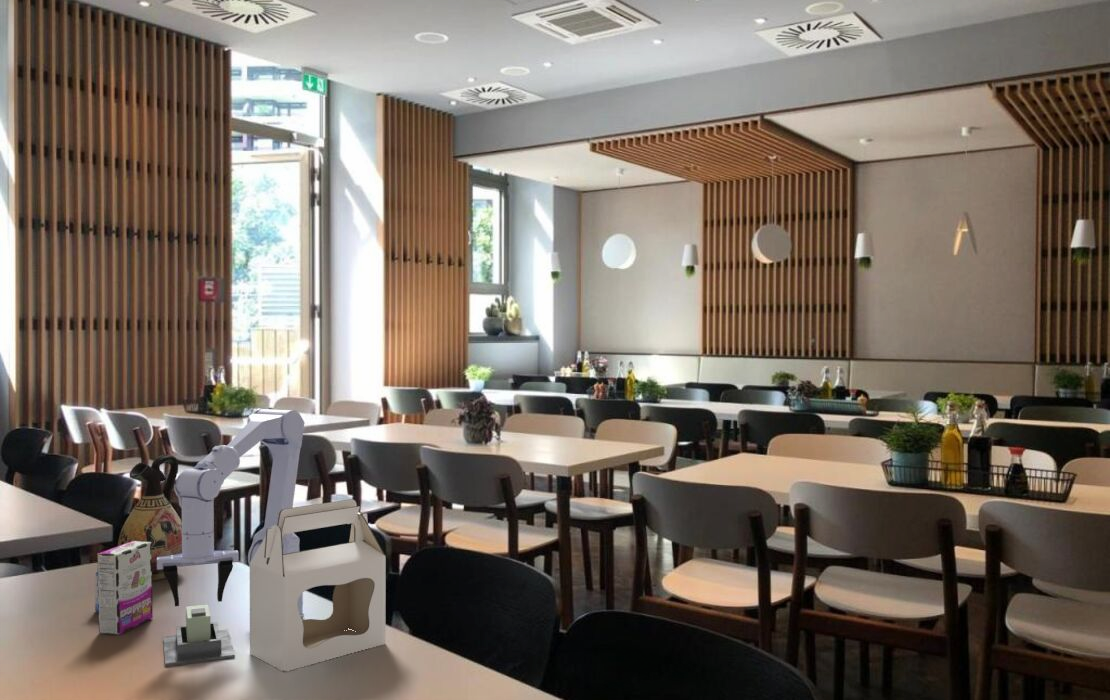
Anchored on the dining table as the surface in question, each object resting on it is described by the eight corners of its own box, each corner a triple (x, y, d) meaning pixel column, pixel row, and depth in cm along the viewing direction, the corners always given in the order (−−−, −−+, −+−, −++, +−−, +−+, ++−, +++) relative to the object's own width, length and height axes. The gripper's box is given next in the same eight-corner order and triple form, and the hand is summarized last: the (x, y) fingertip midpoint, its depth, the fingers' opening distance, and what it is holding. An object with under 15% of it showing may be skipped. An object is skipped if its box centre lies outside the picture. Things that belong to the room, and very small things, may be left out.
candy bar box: (132, 617, 198) (131, 540, 198) (153, 618, 197) (153, 541, 197) (96, 634, 188) (96, 552, 187) (118, 635, 187) (118, 554, 186)
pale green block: (207, 629, 184) (207, 601, 184) (210, 642, 177) (210, 612, 177) (186, 632, 183) (186, 603, 183) (187, 644, 175) (187, 615, 175)
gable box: (282, 673, 167) (282, 517, 166) (248, 654, 176) (247, 506, 176) (387, 644, 183) (387, 501, 182) (350, 628, 192) (350, 492, 191)
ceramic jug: (142, 588, 220) (142, 461, 219) (104, 578, 229) (104, 456, 228) (204, 572, 234) (204, 453, 234) (167, 564, 243) (166, 449, 242)
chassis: (227, 632, 189) (227, 617, 189) (234, 657, 174) (234, 641, 174) (163, 639, 184) (163, 624, 184) (165, 666, 170) (165, 650, 170)
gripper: (156, 539, 172) (157, 612, 173) (239, 532, 178) (240, 603, 178) (156, 531, 179) (157, 602, 179) (236, 525, 185) (236, 593, 185)
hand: (198, 602), depth 179 cm, fingers open, 7 cm apart
